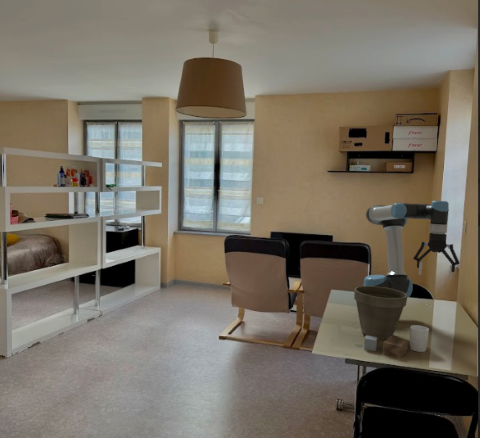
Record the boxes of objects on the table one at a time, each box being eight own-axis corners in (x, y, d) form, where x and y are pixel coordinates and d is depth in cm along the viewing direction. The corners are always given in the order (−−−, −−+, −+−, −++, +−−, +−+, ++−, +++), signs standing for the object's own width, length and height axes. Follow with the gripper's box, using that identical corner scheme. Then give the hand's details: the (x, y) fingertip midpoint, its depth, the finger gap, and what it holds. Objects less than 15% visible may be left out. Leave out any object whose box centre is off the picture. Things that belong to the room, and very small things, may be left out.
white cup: (416, 353, 192) (417, 331, 191) (404, 346, 200) (406, 325, 199) (431, 352, 194) (432, 330, 193) (419, 345, 202) (421, 324, 201)
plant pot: (415, 339, 211) (418, 295, 209) (379, 346, 199) (382, 299, 197) (376, 324, 233) (378, 284, 231) (341, 330, 220) (343, 287, 219)
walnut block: (382, 353, 190) (383, 342, 189) (390, 346, 199) (390, 336, 198) (400, 357, 185) (400, 346, 185) (407, 350, 194) (407, 339, 194)
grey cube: (364, 349, 194) (364, 338, 194) (365, 346, 199) (365, 335, 198) (375, 351, 192) (376, 340, 192) (376, 347, 197) (377, 337, 197)
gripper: (409, 231, 213) (406, 274, 214) (466, 235, 199) (462, 281, 200) (412, 230, 219) (409, 272, 220) (468, 234, 205) (464, 279, 207)
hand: (434, 276), depth 210 cm, fingers open, 13 cm apart
